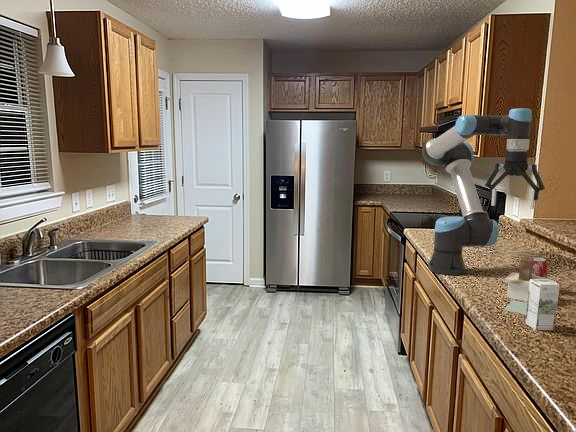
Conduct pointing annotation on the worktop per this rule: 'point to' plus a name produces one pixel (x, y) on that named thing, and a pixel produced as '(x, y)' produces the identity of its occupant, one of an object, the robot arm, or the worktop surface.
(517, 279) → the lid
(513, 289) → the dish
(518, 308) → the mat
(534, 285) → the syrup box
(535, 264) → the soda can
